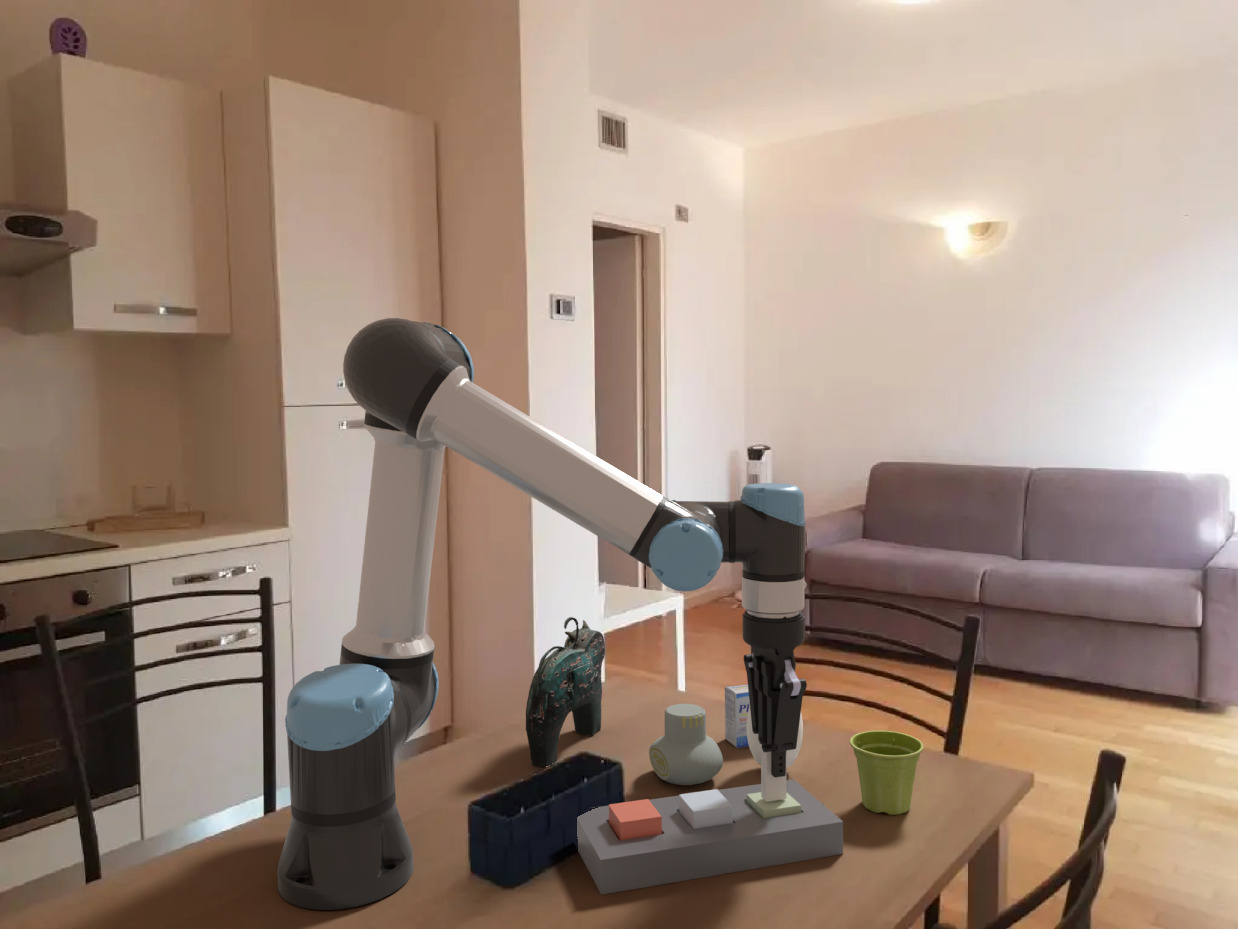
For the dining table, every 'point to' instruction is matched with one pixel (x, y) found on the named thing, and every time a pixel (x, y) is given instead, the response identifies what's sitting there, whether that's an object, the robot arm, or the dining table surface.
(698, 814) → the white button
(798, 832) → the button panel
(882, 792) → the plant pot
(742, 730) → the medicine box
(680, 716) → the air freshener
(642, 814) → the red button
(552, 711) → the dark green metal figure
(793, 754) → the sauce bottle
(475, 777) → the dining table surface
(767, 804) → the green button
